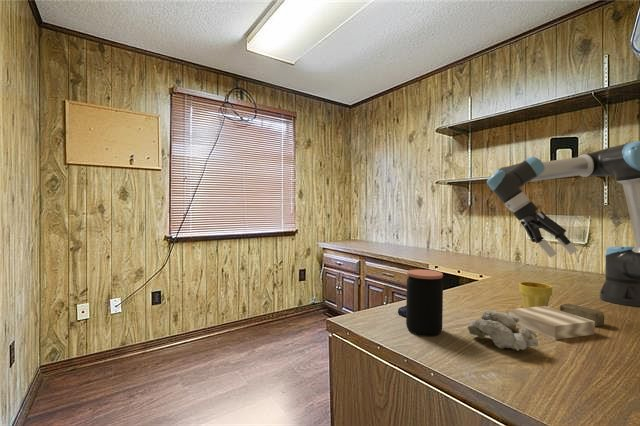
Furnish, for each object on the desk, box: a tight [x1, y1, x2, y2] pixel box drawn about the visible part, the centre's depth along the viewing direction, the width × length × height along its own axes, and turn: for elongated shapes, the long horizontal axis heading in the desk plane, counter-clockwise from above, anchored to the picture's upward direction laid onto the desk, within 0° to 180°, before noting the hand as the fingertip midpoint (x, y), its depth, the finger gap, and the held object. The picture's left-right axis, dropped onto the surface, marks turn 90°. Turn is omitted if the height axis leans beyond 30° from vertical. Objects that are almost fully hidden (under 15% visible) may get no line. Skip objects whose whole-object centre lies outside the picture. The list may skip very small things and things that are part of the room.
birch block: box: [508, 306, 596, 341], centre depth 103 cm, size 16×16×4 cm
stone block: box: [559, 303, 606, 328], centre depth 109 cm, size 6×12×5 cm, turn 28°
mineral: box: [467, 309, 539, 352], centre depth 89 cm, size 12×17×10 cm
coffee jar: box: [405, 268, 444, 337], centre depth 99 cm, size 11×11×18 cm
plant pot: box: [518, 281, 553, 308], centre depth 121 cm, size 10×10×10 cm
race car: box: [397, 305, 406, 318], centre depth 115 cm, size 15×7×4 cm, turn 121°
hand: (563, 254), depth 114 cm, fingers open, 13 cm apart
